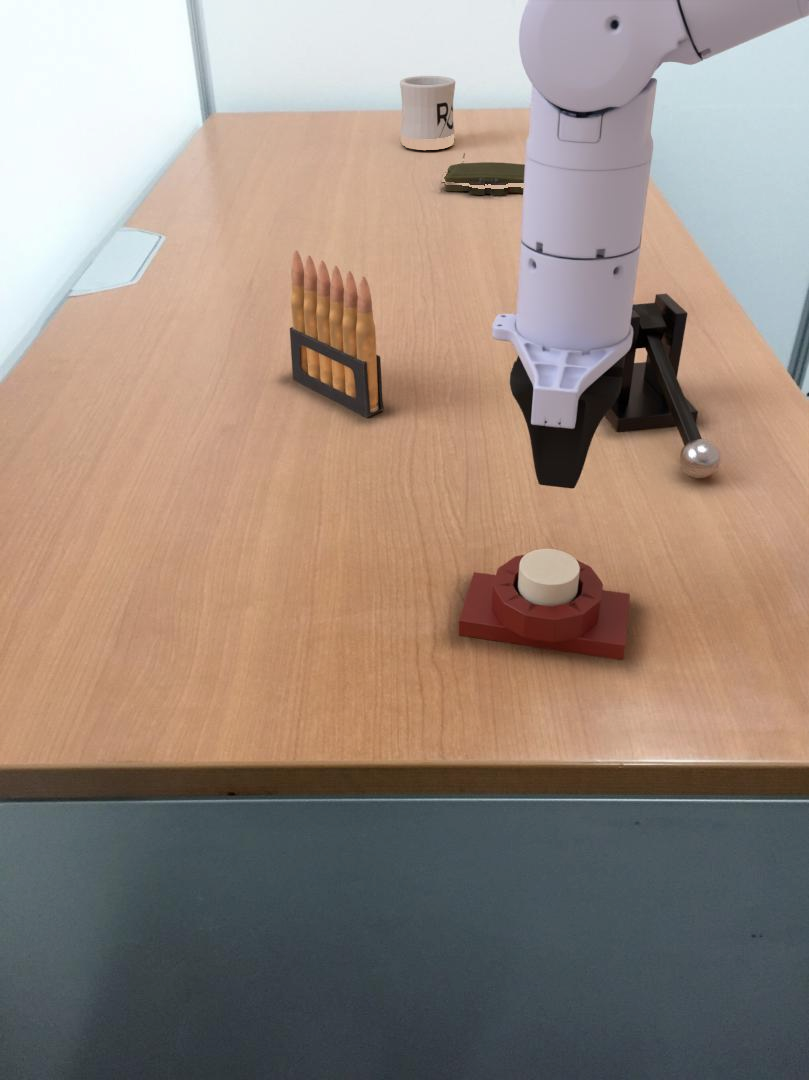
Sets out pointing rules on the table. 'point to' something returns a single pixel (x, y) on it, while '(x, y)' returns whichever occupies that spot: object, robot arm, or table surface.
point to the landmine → (485, 177)
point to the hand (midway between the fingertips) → (557, 480)
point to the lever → (675, 395)
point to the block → (546, 614)
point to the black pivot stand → (649, 376)
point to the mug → (427, 107)
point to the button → (548, 577)
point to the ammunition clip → (334, 337)
